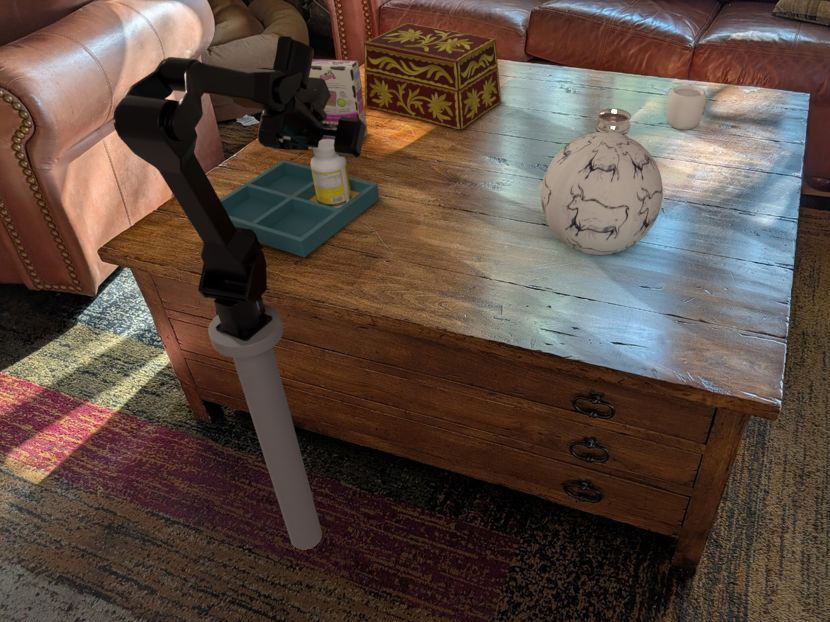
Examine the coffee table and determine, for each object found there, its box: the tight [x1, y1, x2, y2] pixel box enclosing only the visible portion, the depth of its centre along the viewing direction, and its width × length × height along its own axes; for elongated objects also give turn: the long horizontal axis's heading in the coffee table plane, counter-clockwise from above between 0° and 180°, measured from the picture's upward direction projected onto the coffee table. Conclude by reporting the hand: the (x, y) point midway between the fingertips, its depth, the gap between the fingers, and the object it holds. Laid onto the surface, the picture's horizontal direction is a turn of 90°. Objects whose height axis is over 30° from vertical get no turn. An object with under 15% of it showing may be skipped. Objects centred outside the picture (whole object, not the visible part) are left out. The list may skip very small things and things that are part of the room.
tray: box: [219, 159, 380, 258], centre depth 137 cm, size 23×23×3 cm
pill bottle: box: [309, 139, 351, 208], centre depth 135 cm, size 6×6×12 cm
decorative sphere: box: [540, 131, 664, 256], centre depth 121 cm, size 20×20×20 cm
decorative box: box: [363, 22, 502, 131], centre depth 171 cm, size 28×19×15 cm
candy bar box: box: [309, 58, 368, 140], centre depth 157 cm, size 11×5×16 cm, turn 80°
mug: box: [665, 84, 708, 130], centre depth 163 cm, size 12×8×8 cm
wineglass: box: [594, 107, 632, 136], centre depth 144 cm, size 7×7×12 cm
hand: (330, 150), depth 133 cm, fingers open, 9 cm apart
